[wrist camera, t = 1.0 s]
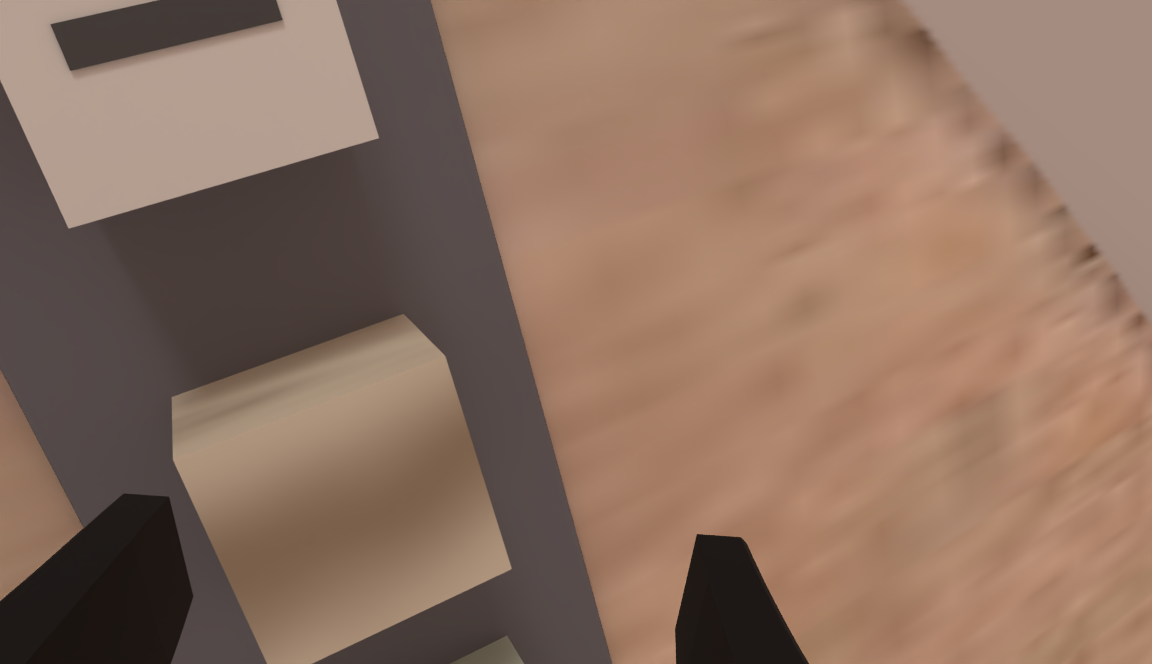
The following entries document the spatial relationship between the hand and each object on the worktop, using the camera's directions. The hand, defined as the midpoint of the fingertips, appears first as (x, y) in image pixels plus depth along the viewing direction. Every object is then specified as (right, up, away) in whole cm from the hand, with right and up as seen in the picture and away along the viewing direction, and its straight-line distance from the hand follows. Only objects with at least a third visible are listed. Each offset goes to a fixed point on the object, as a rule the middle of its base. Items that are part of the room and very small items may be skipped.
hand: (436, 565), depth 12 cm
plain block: (-5, 0, +11) cm, 12 cm away
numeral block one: (-7, +10, +7) cm, 14 cm away
